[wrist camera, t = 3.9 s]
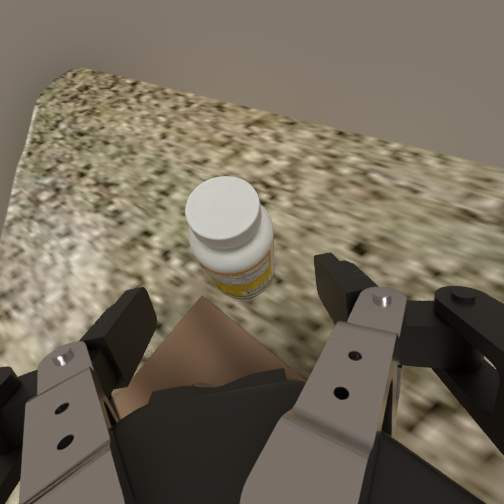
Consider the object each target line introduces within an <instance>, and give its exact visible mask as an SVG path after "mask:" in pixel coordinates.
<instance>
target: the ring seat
mask: <svg viewBox="0 0 504 504" xmlns="http://www.w3.org/2000/svg"><path fill="white" fill-rule="evenodd" d="M280 368H284V369H285V374H286V378H287V379H296V380H301V381H305V382H307V381H306V380H305V379H304V378H302V377H301V376H300V375H299V374H298V373H296V372H295V371H294V370H293V369H291V368H290V367H289V366H288V365H286V364H285V363H284V362H283V361H281V360H280V359H279V358H278V357H277V356H275V355H274V354H273V353H272V352H270V351H269V350H268V349H267V348H265V347H264V346H263V345H262V344H261V343H259V342H258V341H257V340H256V339H254V338H253V337H252V336H251V335H249V334H248V333H247V332H246V331H244V330H243V329H242V328H241V327H240V326H238V325H237V324H236V323H235V322H233V321H232V320H231V319H230V318H228V317H227V316H226V315H225V314H224V313H222V312H221V311H220V310H219V309H217V308H216V307H215V306H214V305H212V304H211V303H210V302H209V301H207V300H206V299H205V298H204V297H203V296H201V297H200V298H199V299H198V301H197V302H196V303H195V304H194V305H193V307H192V308H191V309H190V310H189V311H188V313H187V314H186V315H185V316H184V317H183V319H182V320H181V321H180V322H179V323H178V324H177V326H176V327H175V328H174V329H173V330H172V332H171V333H170V334H169V335H168V336H167V338H166V339H165V340H164V341H163V342H162V344H161V345H160V346H159V347H158V348H157V350H156V351H155V352H154V353H153V354H152V355H151V357H150V358H149V359H148V360H147V361H146V363H145V364H144V365H143V366H142V367H141V369H140V370H139V371H138V372H137V373H136V375H135V376H134V377H133V378H132V379H131V381H130V384H129V386H128V387H125V388H124V389H123V390H122V391H121V392H120V394H119V395H118V396H117V397H116V398H115V403H116V406H117V408H118V411H119V414H120V416H121V419H122V418H124V417H125V416H127V415H128V414H130V413H131V412H133V411H135V410H136V409H138V408H140V407H142V406H144V405H147V404H148V402H149V399H150V396H151V394H152V391H158V390H163V389H169V388H174V387H180V386H199V387H219V386H222V385H225V384H227V383H230V382H232V381H235V380H237V379H239V378H242V377H244V376H247V375H249V374H252V373H258V372H263V371H269V370H275V369H280Z"/></svg>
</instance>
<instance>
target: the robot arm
mask: <svg viewBox="0 0 504 504" xmlns="http://www.w3.org/2000/svg"><path fill="white" fill-rule="evenodd" d="M314 266H315V276H316V285H317V291H318V295H319V297H320V299H321V301H322V303H323V304H324V306H325V308H326V310H327V311H328V313H329V315H330V317H331V318H332V320H333V322H334V323H335V325H336V326H335V328H334V330H333V332H332V334H331V336H330V337H329V339H328V341H327V343H326V345H325V347H324V349H323V351H322V353H321V355H320V357H319V359H318V361H317V363H316V365H315V367H314V369H313V371H312V372H311V374H310V376H309V378H308V380H307V382H305V381H301V380H296V379H287V378H286V374H285V369H284V368H280V369H275V370H269V371H263V372H258V373H252V374H249V375H247V376H244V377H242V378H239V379H237V380H235V381H232V382H230V383H227V384H225V385H222V386H219V387H199V386H180V387H174V388H169V389H163V390H158V391H152V394H151V396H150V399H149V402H148V404H147V405H144V406H142V407H140V408H138V409H136V410H135V411H133V412H131V413H130V414H128V415H127V416H125V417H124V418H122V419H121V416H120V414H119V411H118V408H117V406H116V403H115V400H114V398H113V396H112V394H111V393H112V391H113V389H118V388H124V387H128V386H129V384H130V381H131V379H132V377H133V375H134V373H135V371H136V369H137V367H138V365H139V363H140V361H141V359H142V357H143V355H144V352H145V350H146V348H147V346H148V344H149V342H150V340H151V338H152V336H153V334H154V332H155V330H156V327H157V317H156V314H155V311H154V308H153V306H152V303H151V300H150V298H149V295H148V292H147V290H146V289H145V288H144V287H141V288H135V289H130V290H126V291H125V292H124V293H123V294H122V296H121V297H120V298H119V299H118V300H117V302H116V303H115V304H113V305H112V306H111V307H109V308H108V309H106V311H105V312H104V313H103V314H102V315H101V316H100V318H99V319H98V320H97V321H96V322H95V324H94V325H93V326H92V327H91V328H90V329H89V330H88V331H87V332H86V334H85V335H84V336H83V337H82V338H81V339H80V340H79V341H77V342H72V343H69V344H66V345H64V346H61V347H59V348H57V349H56V350H54V351H53V352H51V353H50V354H48V355H47V356H46V357H45V358H44V359H43V360H42V361H41V362H40V363H39V365H38V370H35V371H32V372H30V373H27V374H24V375H22V376H19V377H17V375H16V374H15V373H14V371H13V370H12V368H11V367H1V368H0V504H5V503H6V501H7V500H8V498H9V496H10V495H11V493H12V492H13V490H14V489H15V487H16V485H17V484H18V482H19V481H20V495H19V504H486V503H484V502H483V501H482V500H480V499H479V498H477V497H476V496H475V495H473V494H472V493H470V492H469V491H467V490H466V489H465V488H463V487H462V486H460V485H459V484H458V483H456V482H455V481H453V480H452V479H450V478H449V477H448V476H446V475H445V474H443V473H442V472H441V471H439V470H438V469H436V468H435V467H433V466H432V465H431V464H429V463H428V462H426V461H425V460H423V459H422V458H421V457H419V456H418V455H416V454H415V453H414V452H412V451H411V450H409V449H408V448H406V447H405V446H404V445H402V444H401V443H399V442H398V441H397V440H395V439H394V433H395V423H396V413H397V406H398V399H399V393H400V386H401V380H402V373H403V366H404V365H405V366H417V367H429V368H432V370H433V371H434V372H435V373H436V375H437V376H438V377H439V378H440V379H441V381H442V382H443V383H444V384H445V385H446V387H447V388H448V389H449V390H450V391H451V393H452V394H453V395H454V396H455V397H456V399H457V400H458V401H459V402H460V403H461V405H462V406H463V407H464V408H465V410H466V411H467V412H468V413H469V414H470V416H471V417H472V418H473V419H474V420H475V422H476V423H477V424H478V425H479V426H480V428H481V429H482V430H483V431H484V432H485V434H486V435H487V436H488V437H489V438H490V440H491V441H492V442H493V443H494V444H495V446H496V447H497V448H498V449H499V451H500V452H501V453H502V454H503V455H504V304H502V303H501V302H499V301H497V300H496V299H494V298H492V297H491V296H489V295H487V294H486V293H484V292H481V291H479V290H476V289H472V288H468V287H462V286H447V287H442V288H439V289H438V290H436V292H435V297H434V301H411V300H406V297H405V295H404V294H403V293H401V292H400V291H398V290H396V289H393V288H389V287H379V286H378V285H376V284H375V283H374V282H373V281H372V280H371V279H370V278H369V277H368V276H367V275H365V274H364V273H363V272H362V271H361V270H360V269H359V268H358V267H357V266H356V265H355V264H353V263H350V262H348V261H345V260H344V261H339V260H338V259H337V258H336V257H335V256H334V255H333V254H332V253H331V252H330V253H325V254H320V255H315V256H314ZM484 356H485V357H486V358H487V359H488V360H490V361H491V363H492V364H493V365H494V366H495V368H496V369H495V368H494V367H493V366H491V365H490V364H489V363H488V362H487V361H486V360H485V359H484ZM20 479H21V480H20Z"/></svg>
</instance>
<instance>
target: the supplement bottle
mask: <svg viewBox="0 0 504 504" xmlns="http://www.w3.org/2000/svg"><path fill="white" fill-rule="evenodd" d="M185 215H186V220H187V223H188V225H189V226H190V230H189V242H190V246H191V249H192V252H193V253H194V255H195V257H196V258H197V260H198V261H199V262H200V264H201V265H202V266H203V268H204V269H205V270H206V271H207V273H208V274H209V276H210V277H211V278H212V280H213V281H214V282H215V283H216V285H217V286H218V287H219V289H220V290H221V291H222V292H224V293H225V294H227V295H229V296H231V297H235V298H250V297H253V296H256V295H258V294H259V293H261V292H262V291H264V290H265V289H266V288H267V286H268V285H269V284H270V282H271V280H272V278H273V274H274V234H273V225H272V221H271V218H270V216H269V214H268V213H267V211H266V210H265V209H264V208H263V207H262V206H261V205H260V201H259V198H258V195H257V193H256V191H255V189H254V188H253V187H252V186H251V185H250V184H249V183H247V182H246V181H244V180H242V179H239V178H236V177H230V176H222V177H216V178H212V179H209V180H207V181H205V182H203V183H202V184H200V185H199V186H198V187H196V188H195V189H194V190H193V192H192V193H191V194H190V196H189V198H188V200H187V203H186V207H185Z"/></svg>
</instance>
